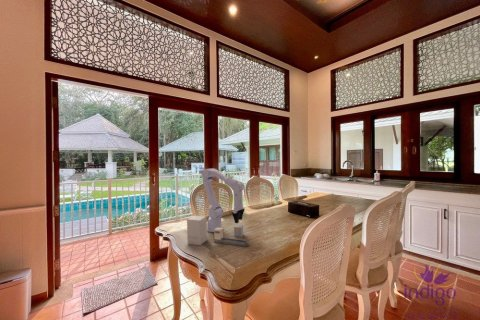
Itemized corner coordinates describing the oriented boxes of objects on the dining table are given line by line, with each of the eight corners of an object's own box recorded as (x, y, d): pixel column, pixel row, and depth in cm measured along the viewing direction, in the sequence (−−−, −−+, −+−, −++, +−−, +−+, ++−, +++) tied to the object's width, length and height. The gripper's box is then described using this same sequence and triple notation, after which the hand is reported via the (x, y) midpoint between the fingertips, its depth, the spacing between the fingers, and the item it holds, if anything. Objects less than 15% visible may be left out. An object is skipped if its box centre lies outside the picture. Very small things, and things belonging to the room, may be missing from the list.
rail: (213, 242, 126) (213, 237, 126) (216, 239, 130) (216, 234, 130) (246, 246, 120) (246, 241, 120) (248, 243, 124) (248, 238, 124)
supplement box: (207, 239, 130) (207, 216, 130) (200, 245, 122) (199, 220, 122) (194, 238, 133) (194, 215, 133) (187, 243, 125) (186, 219, 125)
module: (234, 236, 136) (233, 227, 136) (236, 233, 140) (236, 225, 140) (241, 237, 134) (241, 227, 134) (243, 234, 138) (243, 225, 138)
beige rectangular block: (214, 239, 126) (214, 229, 126) (217, 236, 130) (217, 227, 130) (220, 240, 125) (220, 230, 125) (223, 237, 129) (222, 227, 129)
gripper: (240, 203, 129) (240, 225, 129) (247, 198, 142) (247, 218, 143) (229, 202, 131) (230, 224, 131) (237, 198, 145) (237, 217, 145)
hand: (238, 221), depth 137 cm, fingers open, 7 cm apart
